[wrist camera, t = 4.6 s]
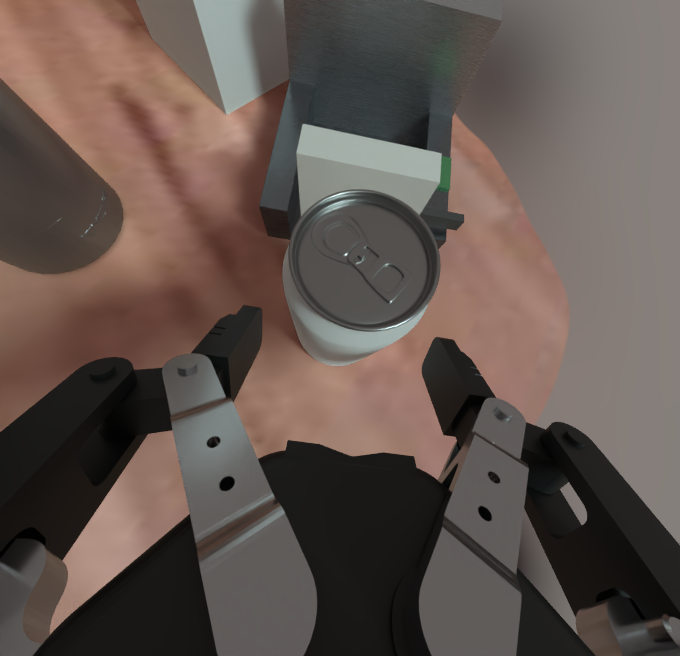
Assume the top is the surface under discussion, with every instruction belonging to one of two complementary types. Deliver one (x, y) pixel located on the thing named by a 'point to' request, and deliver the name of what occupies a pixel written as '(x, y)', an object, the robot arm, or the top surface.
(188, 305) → the top surface
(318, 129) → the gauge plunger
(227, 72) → the milk
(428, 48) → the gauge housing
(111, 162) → the top surface
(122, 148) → the top surface
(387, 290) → the can
